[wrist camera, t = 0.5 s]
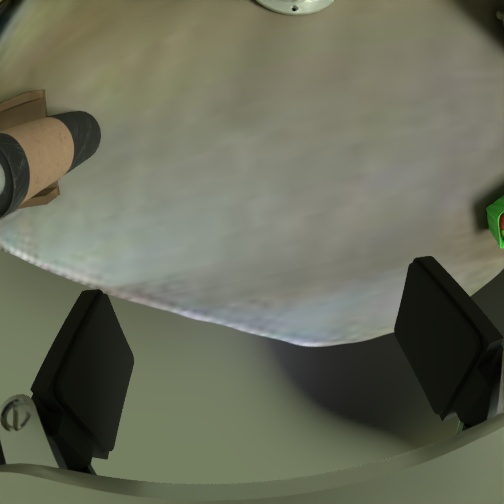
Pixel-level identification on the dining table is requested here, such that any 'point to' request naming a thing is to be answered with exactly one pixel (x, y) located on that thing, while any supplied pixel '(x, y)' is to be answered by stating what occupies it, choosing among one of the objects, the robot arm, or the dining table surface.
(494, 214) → the fruit basket
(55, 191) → the tray
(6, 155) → the travel mug
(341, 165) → the dining table surface
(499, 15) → the tabletop clock
